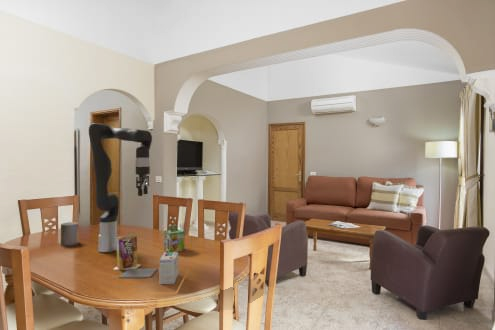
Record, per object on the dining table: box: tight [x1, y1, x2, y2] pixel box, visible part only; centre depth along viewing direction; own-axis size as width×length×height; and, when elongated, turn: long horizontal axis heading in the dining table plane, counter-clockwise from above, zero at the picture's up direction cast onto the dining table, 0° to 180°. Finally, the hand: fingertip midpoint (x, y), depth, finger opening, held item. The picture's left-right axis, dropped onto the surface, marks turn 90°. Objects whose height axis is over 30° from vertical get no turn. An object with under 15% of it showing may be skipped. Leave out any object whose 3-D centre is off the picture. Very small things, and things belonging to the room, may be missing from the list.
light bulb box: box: [158, 251, 179, 285], centre depth 134 cm, size 11×7×11 cm, turn 5°
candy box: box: [116, 234, 138, 271], centre depth 150 cm, size 9×4×15 cm, turn 130°
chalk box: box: [163, 224, 186, 253], centre depth 178 cm, size 9×9×15 cm
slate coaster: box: [118, 268, 158, 279], centre depth 141 cm, size 14×10×1 cm
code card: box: [112, 263, 141, 271], centre depth 150 cm, size 11×7×1 cm, turn 90°
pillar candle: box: [60, 221, 79, 247], centre depth 191 cm, size 10×10×15 cm
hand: (142, 195), depth 168 cm, fingers open, 8 cm apart
